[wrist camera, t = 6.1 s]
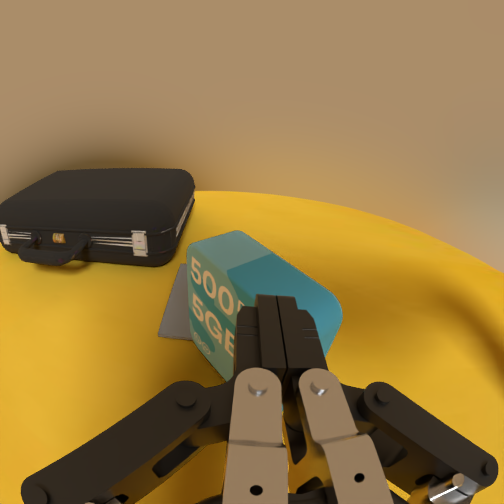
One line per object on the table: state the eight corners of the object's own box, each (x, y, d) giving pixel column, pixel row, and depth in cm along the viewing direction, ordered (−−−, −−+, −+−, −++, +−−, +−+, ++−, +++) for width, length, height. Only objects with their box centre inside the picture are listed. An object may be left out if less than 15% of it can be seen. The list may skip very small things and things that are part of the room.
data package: (189, 339, 27) (185, 236, 20) (225, 322, 29) (232, 223, 23) (267, 426, 19) (304, 339, 13) (304, 398, 22) (351, 303, 16)
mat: (324, 345, 28) (325, 343, 28) (158, 336, 27) (157, 333, 27) (303, 275, 40) (303, 272, 40) (181, 265, 39) (180, 263, 39)
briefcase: (-20, 276, 28) (-37, 223, 23) (59, 206, 55) (55, 168, 50) (165, 307, 32) (159, 232, 27) (196, 210, 59) (198, 166, 54)
